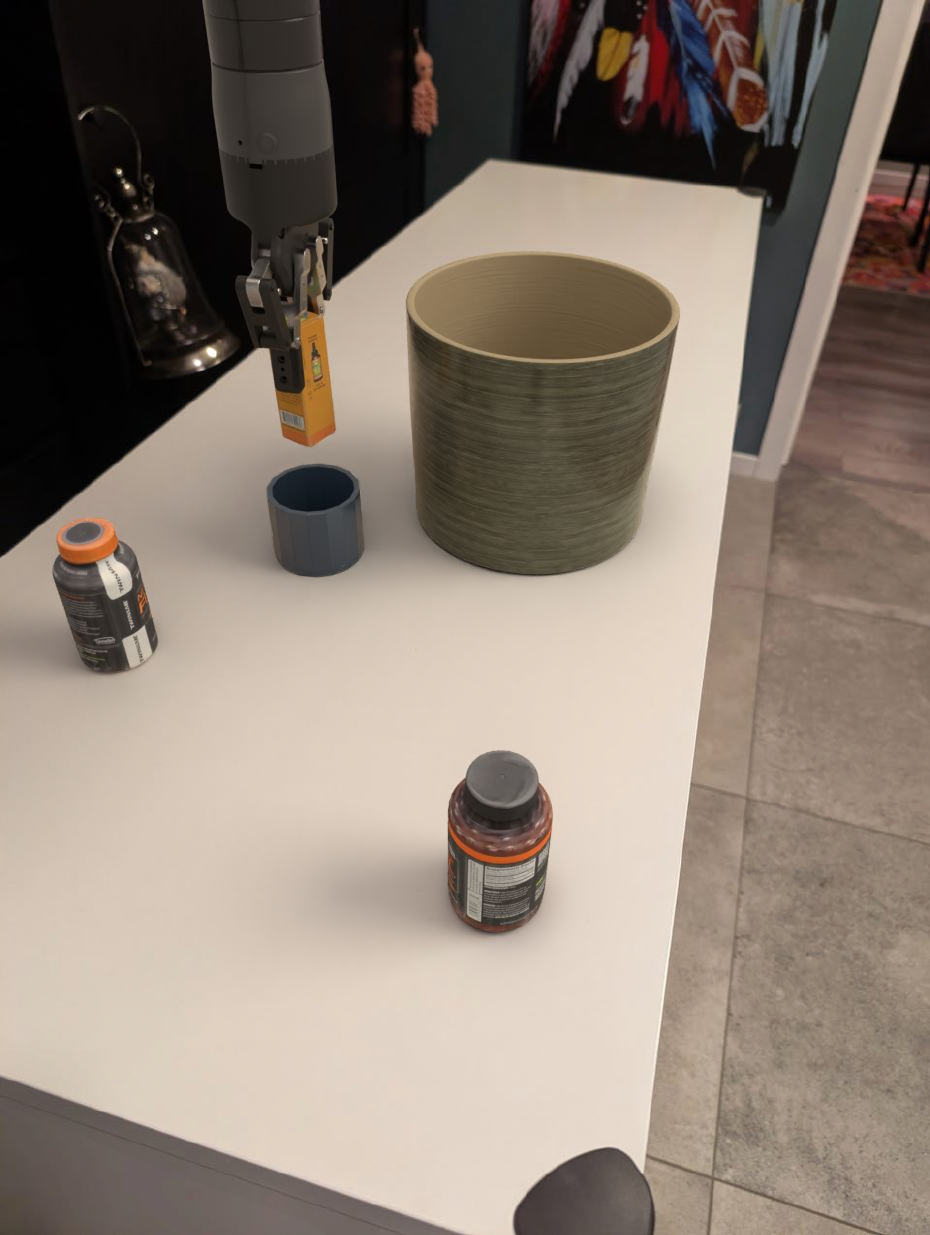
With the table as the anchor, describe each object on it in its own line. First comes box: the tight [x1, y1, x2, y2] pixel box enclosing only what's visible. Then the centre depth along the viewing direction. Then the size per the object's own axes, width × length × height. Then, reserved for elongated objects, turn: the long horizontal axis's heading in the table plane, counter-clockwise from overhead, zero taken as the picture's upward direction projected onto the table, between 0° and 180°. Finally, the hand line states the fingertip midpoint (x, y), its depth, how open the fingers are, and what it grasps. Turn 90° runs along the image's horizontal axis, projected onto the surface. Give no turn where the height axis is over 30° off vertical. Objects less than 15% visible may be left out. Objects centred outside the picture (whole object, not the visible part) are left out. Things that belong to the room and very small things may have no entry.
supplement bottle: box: [447, 749, 554, 933], centre depth 56 cm, size 6×6×11 cm
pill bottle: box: [51, 517, 159, 673], centre depth 72 cm, size 6×6×11 cm
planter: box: [405, 250, 681, 575], centre depth 84 cm, size 22×22×20 cm
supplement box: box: [268, 311, 337, 448], centre depth 75 cm, size 3×3×10 cm
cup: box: [266, 463, 365, 577], centre depth 83 cm, size 8×8×6 cm
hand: (300, 376), depth 74 cm, fingers closed on supplement box, 4 cm apart
